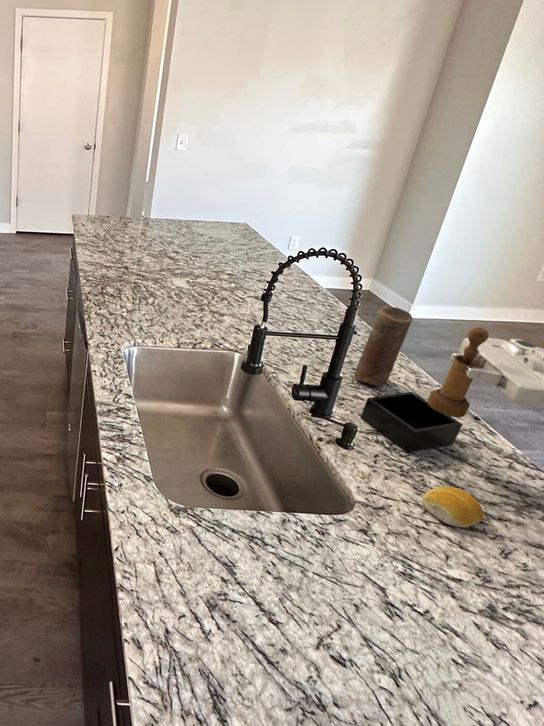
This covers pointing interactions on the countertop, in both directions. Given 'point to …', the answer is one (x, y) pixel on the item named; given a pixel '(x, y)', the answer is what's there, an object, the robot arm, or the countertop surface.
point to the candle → (383, 346)
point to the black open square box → (410, 422)
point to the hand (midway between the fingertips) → (459, 364)
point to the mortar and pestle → (458, 379)
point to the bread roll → (453, 506)
